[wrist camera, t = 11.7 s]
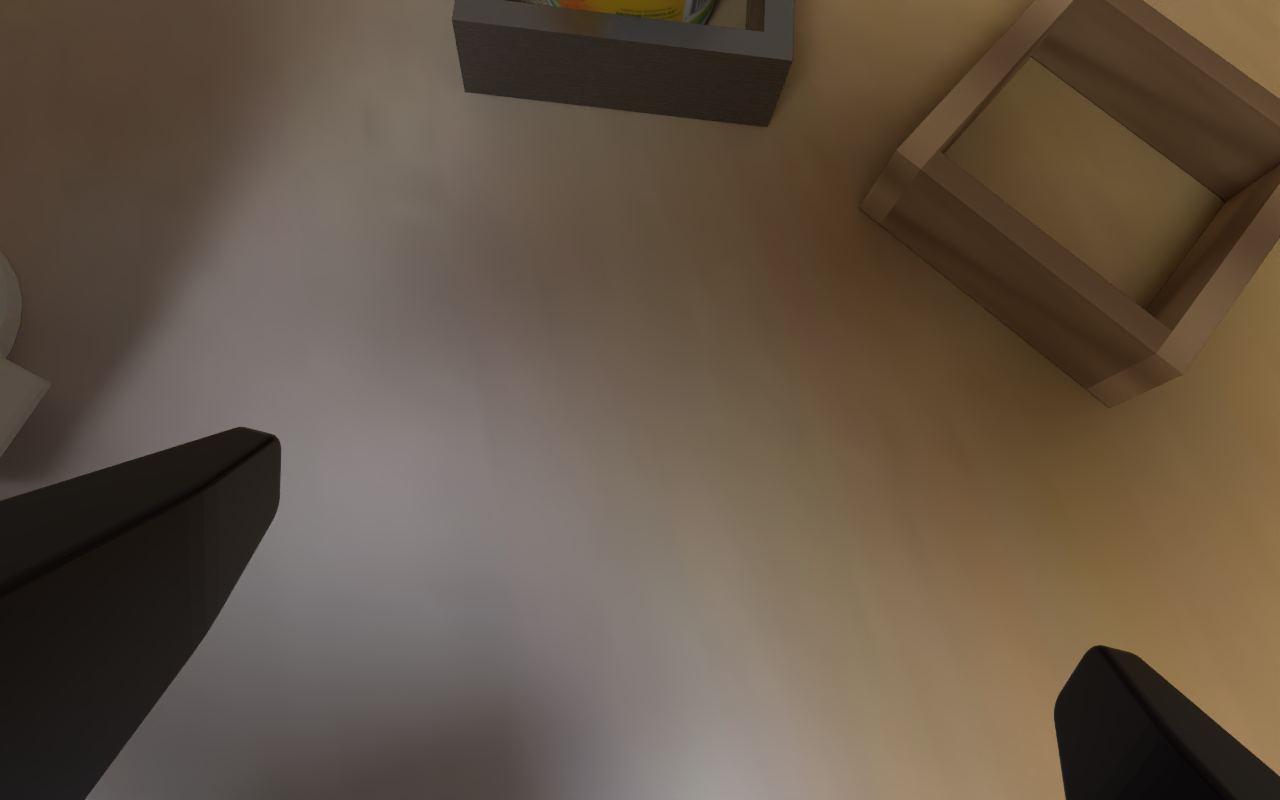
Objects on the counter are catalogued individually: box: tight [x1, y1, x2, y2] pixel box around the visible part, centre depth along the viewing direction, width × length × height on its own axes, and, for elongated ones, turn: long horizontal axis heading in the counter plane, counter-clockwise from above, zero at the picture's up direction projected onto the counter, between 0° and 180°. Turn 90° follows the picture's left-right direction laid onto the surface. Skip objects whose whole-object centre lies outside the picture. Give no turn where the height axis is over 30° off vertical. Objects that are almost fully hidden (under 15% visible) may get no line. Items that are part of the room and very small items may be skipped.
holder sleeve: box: [859, 0, 1280, 408], centre depth 24 cm, size 9×9×3 cm
